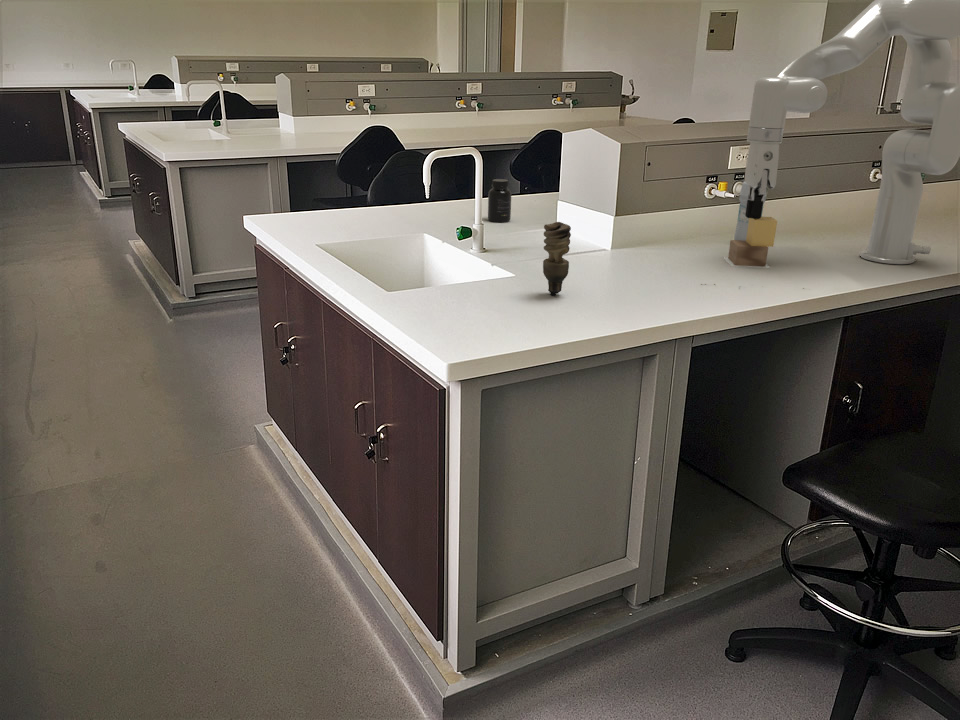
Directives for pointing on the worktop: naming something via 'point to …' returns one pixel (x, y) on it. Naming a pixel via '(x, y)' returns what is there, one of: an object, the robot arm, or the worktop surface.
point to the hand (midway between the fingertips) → (752, 217)
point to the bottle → (743, 214)
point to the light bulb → (556, 255)
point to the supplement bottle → (499, 202)
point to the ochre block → (761, 231)
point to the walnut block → (747, 254)
